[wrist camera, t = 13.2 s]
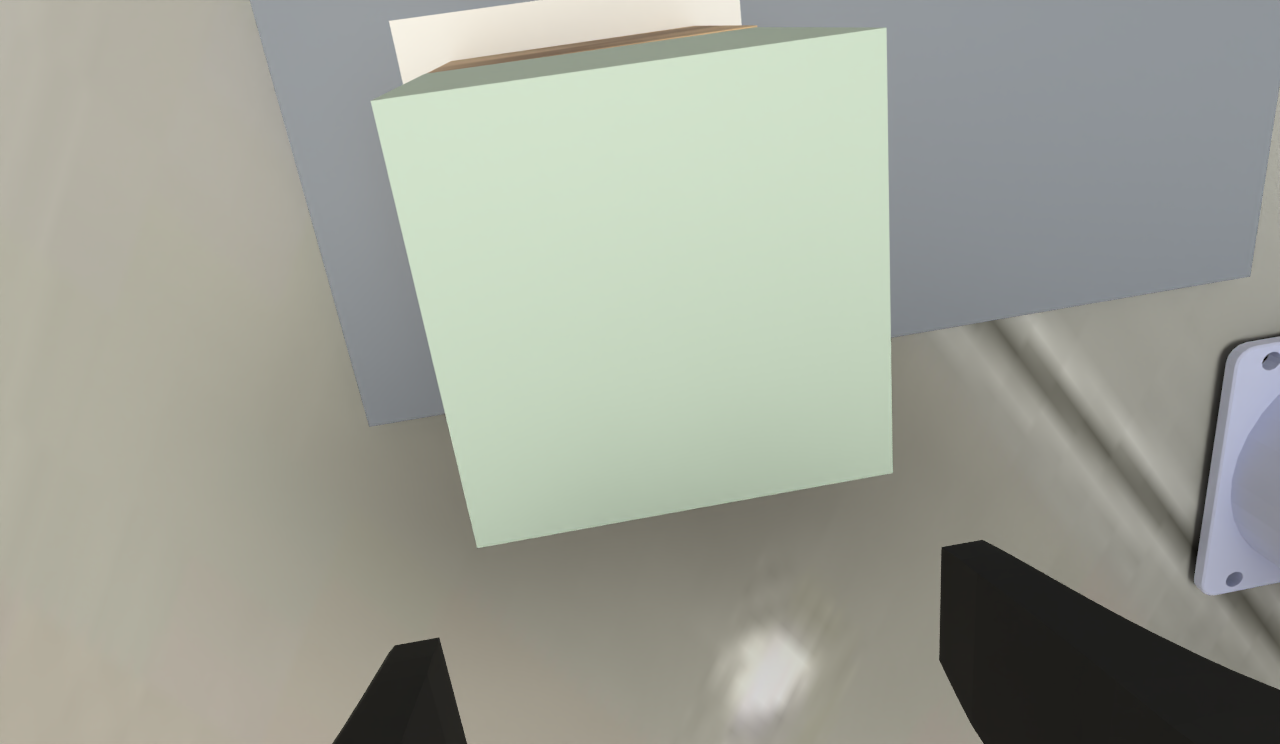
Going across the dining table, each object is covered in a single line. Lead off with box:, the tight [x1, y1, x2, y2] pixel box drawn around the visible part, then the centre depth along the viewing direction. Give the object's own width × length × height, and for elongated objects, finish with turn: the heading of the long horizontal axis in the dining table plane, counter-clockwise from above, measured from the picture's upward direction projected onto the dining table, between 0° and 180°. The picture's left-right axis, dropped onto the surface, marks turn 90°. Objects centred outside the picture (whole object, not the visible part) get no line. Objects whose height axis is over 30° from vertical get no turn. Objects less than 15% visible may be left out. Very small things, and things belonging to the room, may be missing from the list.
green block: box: [371, 27, 893, 548], centre depth 11 cm, size 5×5×5 cm
